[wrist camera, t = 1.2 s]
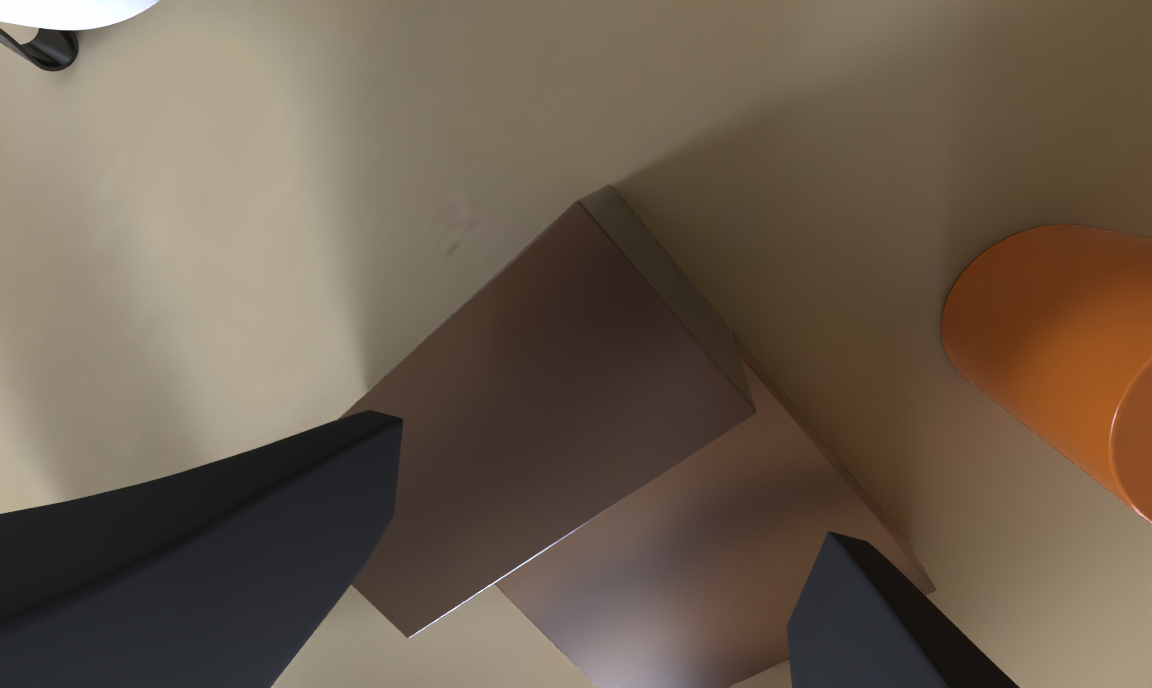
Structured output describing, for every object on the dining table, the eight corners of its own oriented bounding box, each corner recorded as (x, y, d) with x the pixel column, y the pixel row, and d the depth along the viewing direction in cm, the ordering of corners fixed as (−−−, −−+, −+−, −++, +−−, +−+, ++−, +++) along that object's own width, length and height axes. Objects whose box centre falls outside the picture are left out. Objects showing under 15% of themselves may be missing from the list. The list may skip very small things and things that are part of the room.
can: (1184, 328, 16) (1549, 454, 9) (1000, 428, 17) (1196, 595, 11) (1086, 183, 15) (1406, 208, 8) (904, 302, 17) (1052, 400, 10)
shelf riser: (912, 548, 19) (1009, 711, 14) (640, 683, 23) (630, 853, 18) (609, 183, 17) (577, 199, 11) (367, 403, 21) (255, 494, 15)
